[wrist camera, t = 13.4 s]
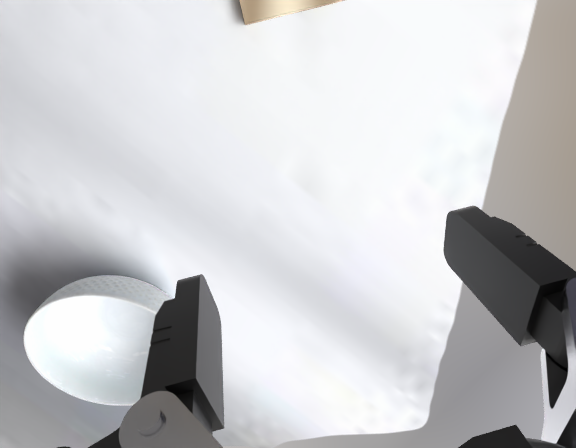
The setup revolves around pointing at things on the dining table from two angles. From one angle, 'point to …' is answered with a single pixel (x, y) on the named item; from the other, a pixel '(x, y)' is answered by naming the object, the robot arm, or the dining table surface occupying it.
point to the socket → (277, 8)
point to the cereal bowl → (95, 337)
